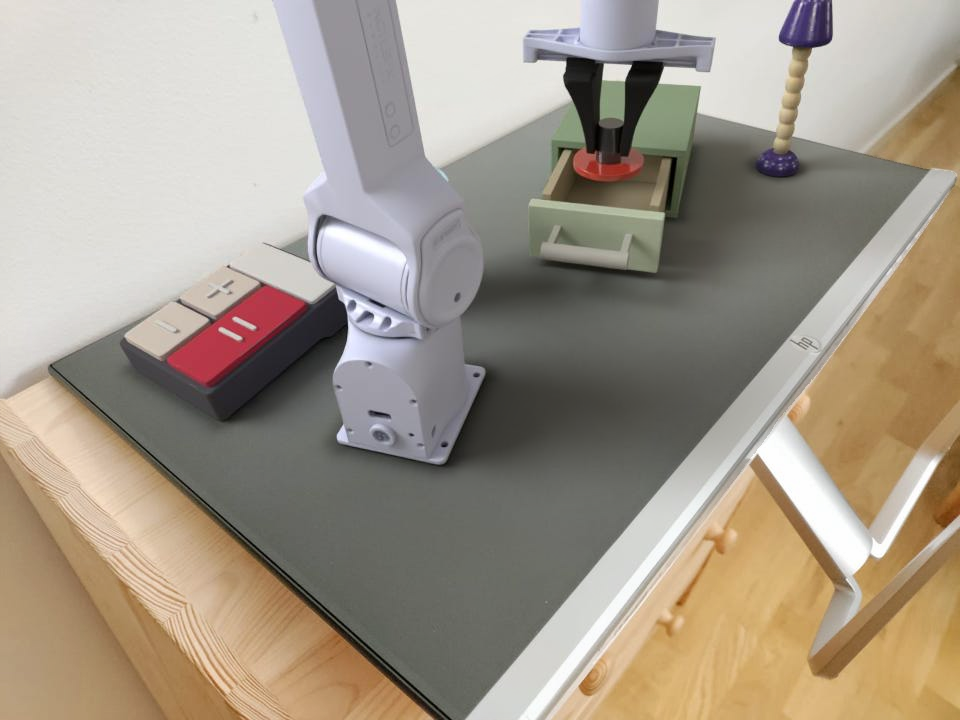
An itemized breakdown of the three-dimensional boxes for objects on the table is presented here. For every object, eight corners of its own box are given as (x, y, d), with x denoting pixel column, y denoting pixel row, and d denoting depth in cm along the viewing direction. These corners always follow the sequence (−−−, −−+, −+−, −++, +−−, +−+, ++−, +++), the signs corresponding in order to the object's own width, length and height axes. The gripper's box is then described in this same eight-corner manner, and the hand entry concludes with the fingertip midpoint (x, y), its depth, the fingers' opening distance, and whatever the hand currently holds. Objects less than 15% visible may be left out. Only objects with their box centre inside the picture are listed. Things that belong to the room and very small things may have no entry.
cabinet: (676, 218, 68) (686, 150, 63) (550, 204, 71) (551, 139, 67) (691, 147, 79) (701, 85, 74) (581, 138, 82) (584, 78, 77)
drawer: (649, 303, 57) (656, 248, 54) (515, 284, 60) (514, 231, 56) (675, 191, 70) (682, 141, 67) (564, 180, 73) (565, 132, 70)
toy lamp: (742, 167, 75) (778, -5, 64) (766, 151, 77) (804, -17, 66) (784, 181, 72) (828, 4, 61) (808, 165, 74) (855, -8, 63)
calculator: (111, 334, 53) (259, 233, 62) (135, 374, 56) (273, 272, 65) (203, 388, 48) (351, 270, 56) (225, 429, 51) (362, 311, 60)
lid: (637, 185, 58) (642, 141, 56) (566, 178, 60) (567, 135, 57) (647, 152, 63) (652, 110, 60) (580, 147, 64) (582, 106, 62)
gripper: (728, -39, 52) (701, 136, 61) (537, -42, 56) (538, 124, 65) (722, -12, 47) (693, 174, 56) (513, -17, 51) (517, 158, 60)
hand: (609, 150), depth 60 cm, fingers closed on lid, 2 cm apart
